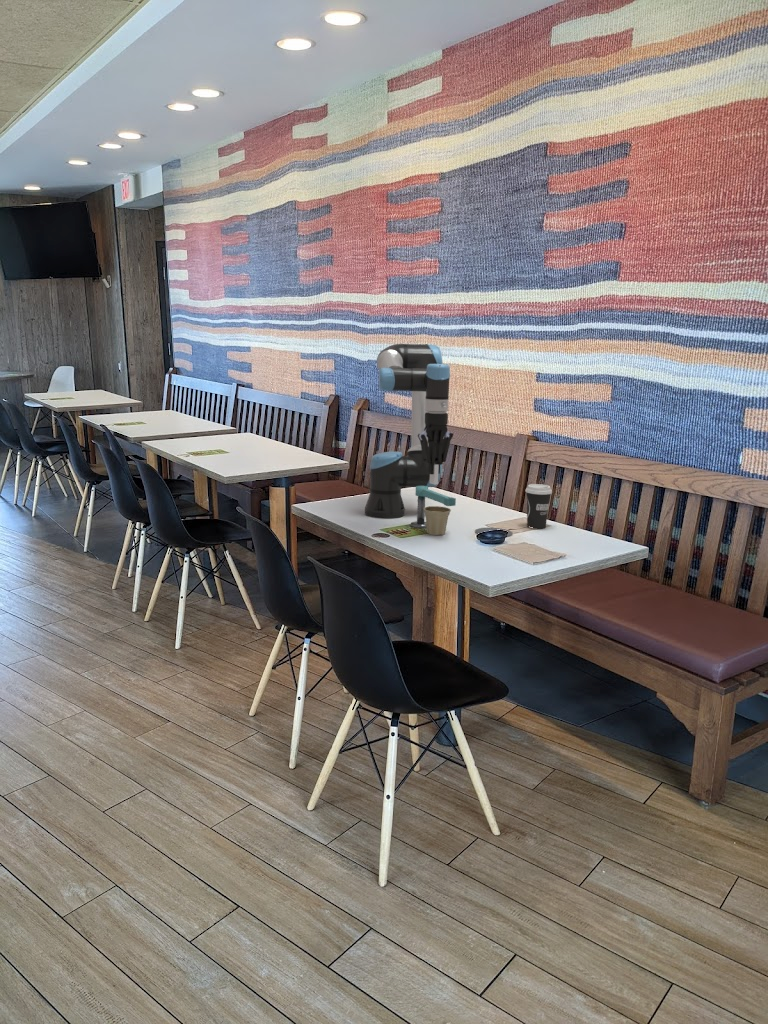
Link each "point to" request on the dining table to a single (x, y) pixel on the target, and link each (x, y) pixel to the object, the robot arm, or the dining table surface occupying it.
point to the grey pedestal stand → (420, 514)
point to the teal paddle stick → (435, 496)
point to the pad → (491, 529)
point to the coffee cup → (537, 505)
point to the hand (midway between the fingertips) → (433, 483)
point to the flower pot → (436, 519)
